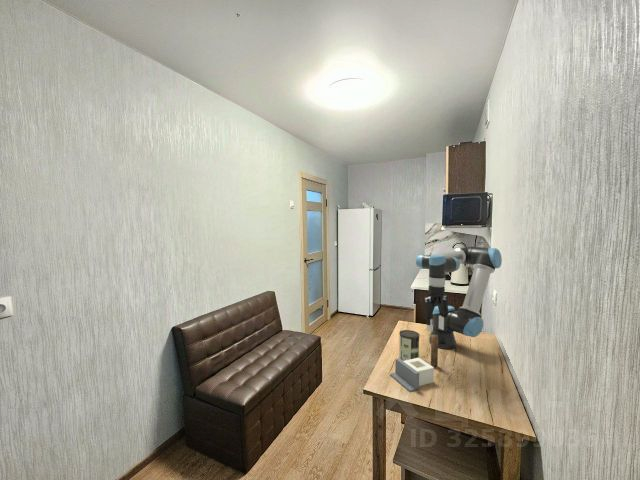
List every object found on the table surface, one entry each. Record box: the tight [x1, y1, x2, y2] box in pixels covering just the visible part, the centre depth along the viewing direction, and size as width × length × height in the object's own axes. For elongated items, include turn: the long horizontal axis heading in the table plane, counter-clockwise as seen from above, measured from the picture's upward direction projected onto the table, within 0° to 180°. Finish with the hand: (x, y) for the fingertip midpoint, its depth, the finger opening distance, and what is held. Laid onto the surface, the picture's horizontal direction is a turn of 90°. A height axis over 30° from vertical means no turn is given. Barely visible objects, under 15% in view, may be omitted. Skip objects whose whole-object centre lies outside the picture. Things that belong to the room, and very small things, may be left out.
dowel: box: [430, 334, 439, 369], centre depth 138 cm, size 3×3×16 cm
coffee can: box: [398, 329, 420, 361], centre depth 146 cm, size 10×10×14 cm
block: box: [403, 357, 435, 387], centre depth 127 cm, size 10×10×7 cm
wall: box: [389, 357, 420, 393], centre depth 124 cm, size 5×14×8 cm, turn 21°
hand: (435, 330), depth 137 cm, fingers open, 7 cm apart
